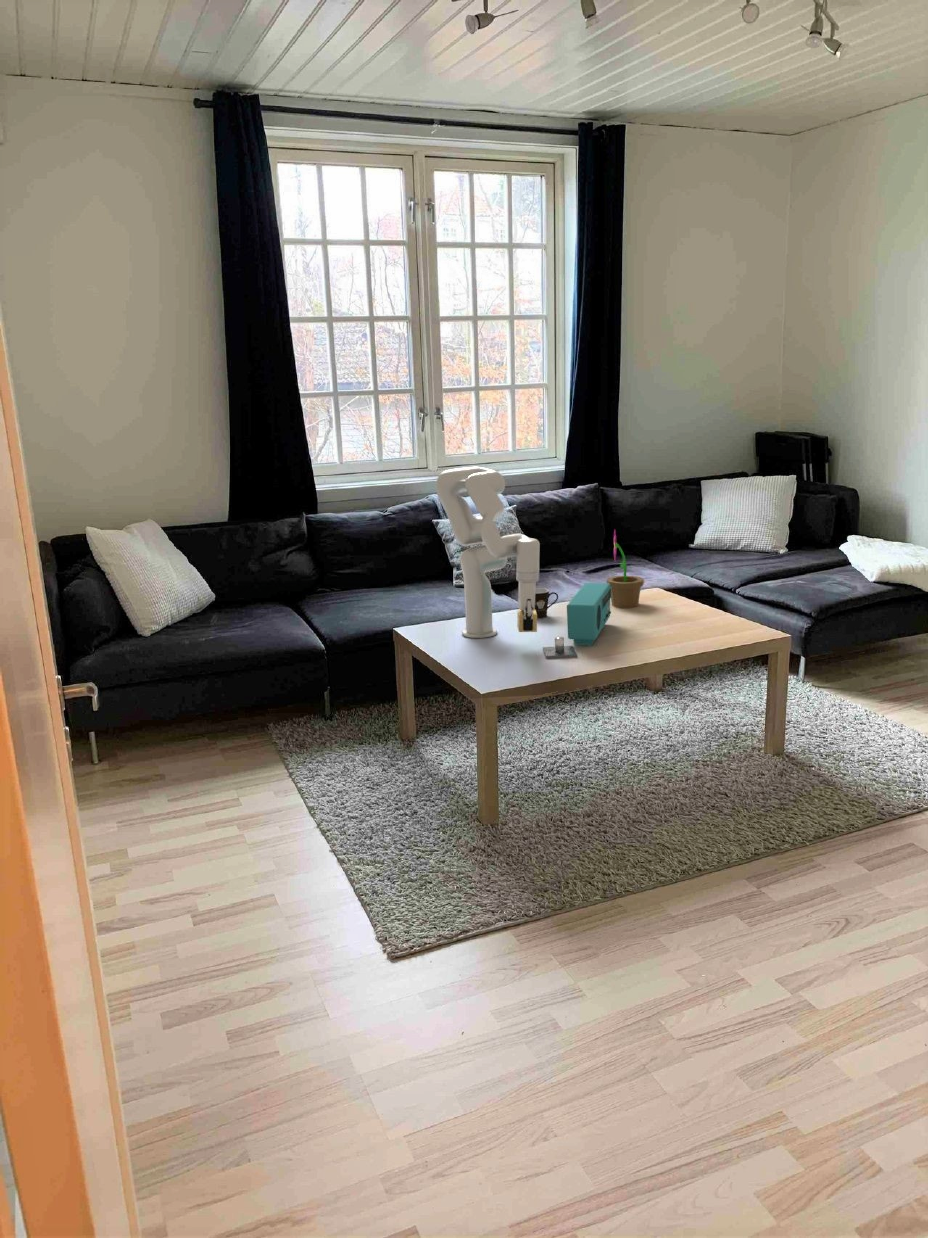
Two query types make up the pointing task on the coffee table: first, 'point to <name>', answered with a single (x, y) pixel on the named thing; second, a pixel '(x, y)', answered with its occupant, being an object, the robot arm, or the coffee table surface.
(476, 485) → the robot arm
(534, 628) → the pale yellow cube
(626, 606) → the flowerpot
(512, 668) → the coffee table surface
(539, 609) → the coffee mug
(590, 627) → the radio
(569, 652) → the stud plate
